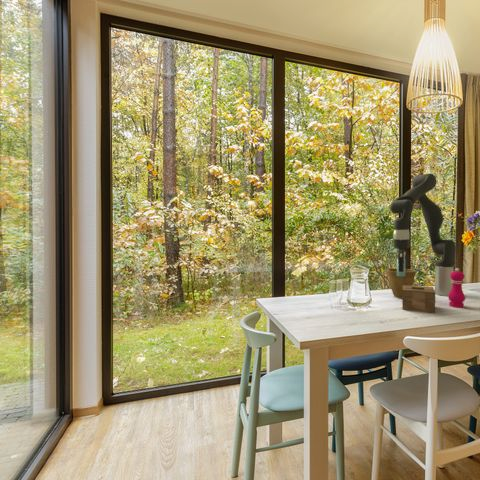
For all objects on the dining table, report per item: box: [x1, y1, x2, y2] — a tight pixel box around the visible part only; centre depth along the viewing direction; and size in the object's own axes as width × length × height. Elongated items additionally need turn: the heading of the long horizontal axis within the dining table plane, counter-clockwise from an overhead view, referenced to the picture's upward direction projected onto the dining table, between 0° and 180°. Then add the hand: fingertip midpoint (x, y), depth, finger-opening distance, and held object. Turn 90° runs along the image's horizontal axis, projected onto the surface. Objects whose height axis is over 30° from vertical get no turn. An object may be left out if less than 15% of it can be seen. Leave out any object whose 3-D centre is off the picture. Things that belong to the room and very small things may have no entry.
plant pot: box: [386, 268, 416, 299], centre depth 184 cm, size 15×15×16 cm
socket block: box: [401, 285, 436, 314], centre depth 160 cm, size 14×14×10 cm
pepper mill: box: [447, 267, 466, 309], centre depth 162 cm, size 7×7×20 cm
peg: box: [396, 258, 406, 277], centre depth 163 cm, size 4×4×9 cm
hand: (401, 270), depth 163 cm, fingers closed on peg, 4 cm apart
